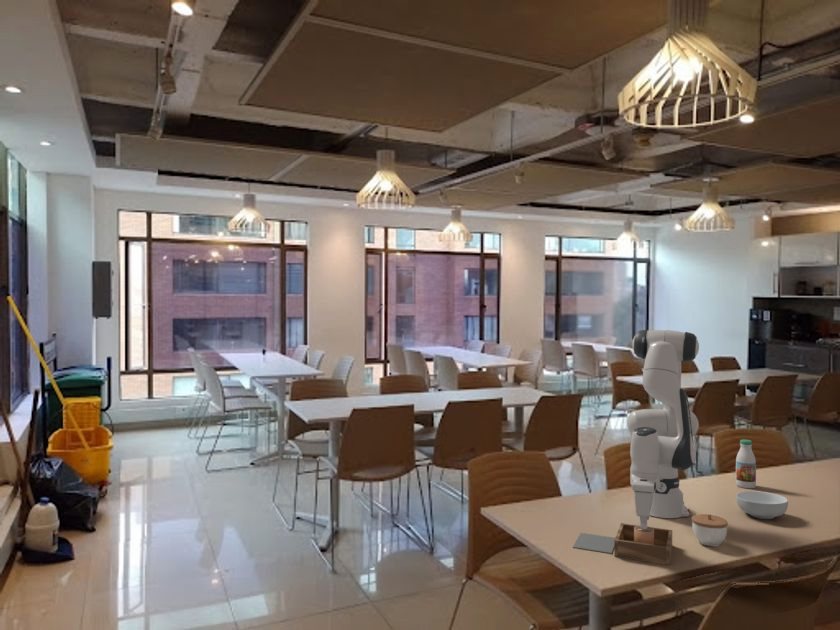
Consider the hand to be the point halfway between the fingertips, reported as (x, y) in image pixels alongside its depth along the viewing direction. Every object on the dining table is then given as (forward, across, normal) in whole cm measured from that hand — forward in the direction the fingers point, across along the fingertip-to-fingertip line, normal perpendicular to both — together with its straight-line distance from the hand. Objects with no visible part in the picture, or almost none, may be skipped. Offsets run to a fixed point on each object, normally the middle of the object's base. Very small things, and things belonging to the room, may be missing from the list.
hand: (645, 523), depth 198 cm
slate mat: (+9, -1, -15) cm, 18 cm away
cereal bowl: (+8, -54, +37) cm, 66 cm away
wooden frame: (+9, -1, 0) cm, 9 cm away
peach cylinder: (+9, -1, 0) cm, 9 cm away
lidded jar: (+9, -17, +19) cm, 27 cm away
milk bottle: (+7, -96, +34) cm, 102 cm away
